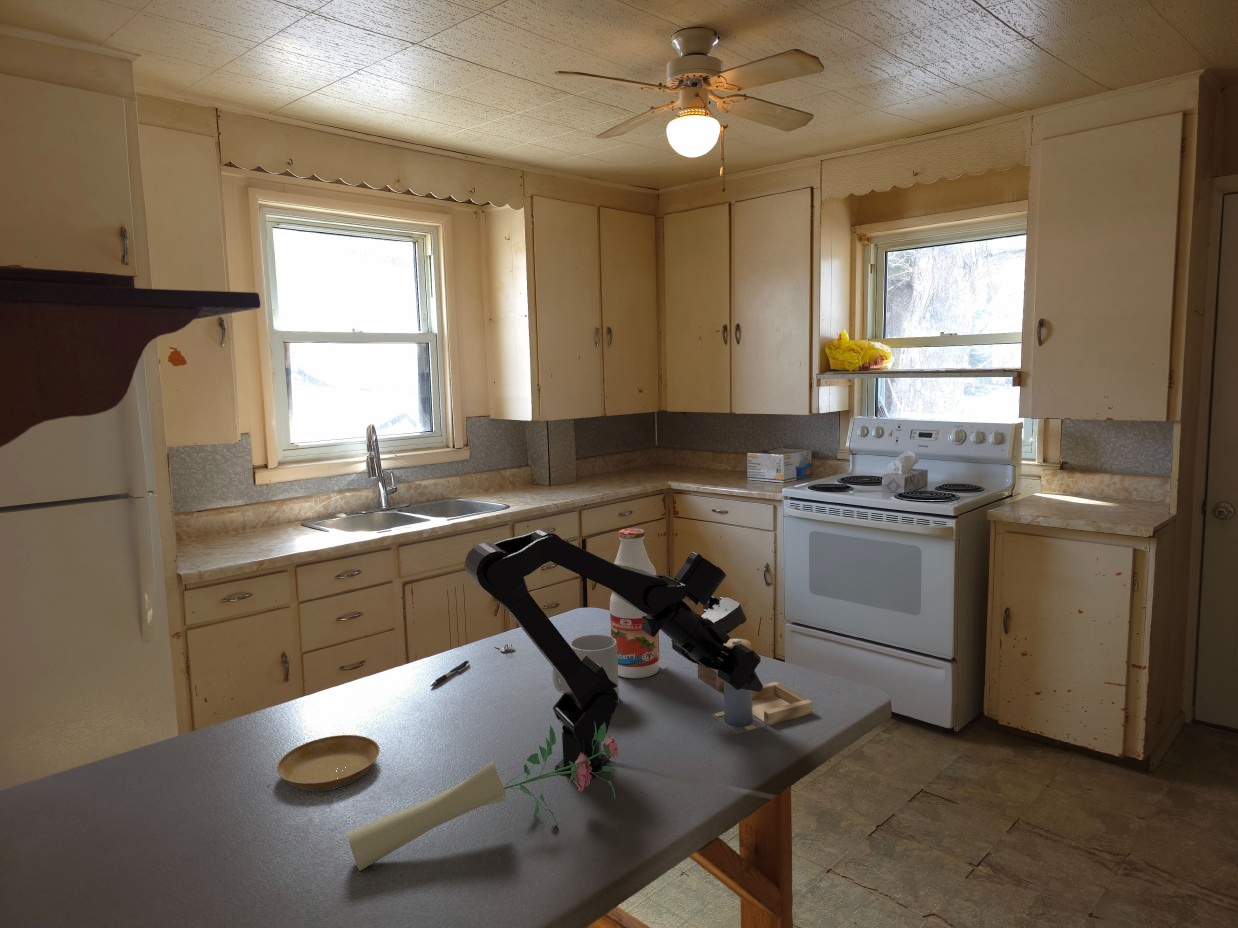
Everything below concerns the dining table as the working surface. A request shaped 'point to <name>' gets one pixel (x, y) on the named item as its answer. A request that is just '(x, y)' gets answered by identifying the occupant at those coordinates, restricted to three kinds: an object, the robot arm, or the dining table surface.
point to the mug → (595, 656)
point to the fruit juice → (633, 615)
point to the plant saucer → (328, 762)
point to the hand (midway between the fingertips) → (744, 679)
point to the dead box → (710, 677)
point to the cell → (737, 697)
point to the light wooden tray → (778, 704)
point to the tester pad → (739, 729)
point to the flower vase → (462, 803)
